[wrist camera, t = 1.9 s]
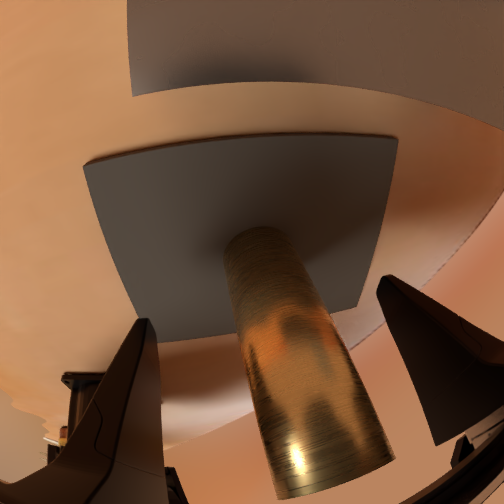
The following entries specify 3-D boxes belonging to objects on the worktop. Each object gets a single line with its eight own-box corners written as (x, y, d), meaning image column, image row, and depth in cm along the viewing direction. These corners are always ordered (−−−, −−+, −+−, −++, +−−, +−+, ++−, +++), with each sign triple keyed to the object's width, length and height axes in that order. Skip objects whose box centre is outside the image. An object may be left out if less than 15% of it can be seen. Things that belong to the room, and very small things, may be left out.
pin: (226, 288, 12) (275, 499, 5) (219, 231, 10) (282, 501, 3) (290, 277, 13) (370, 467, 5) (294, 222, 11) (417, 447, 4)
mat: (152, 337, 14) (152, 343, 14) (86, 162, 8) (82, 166, 7) (353, 302, 16) (356, 306, 15) (392, 136, 10) (398, 139, 9)
